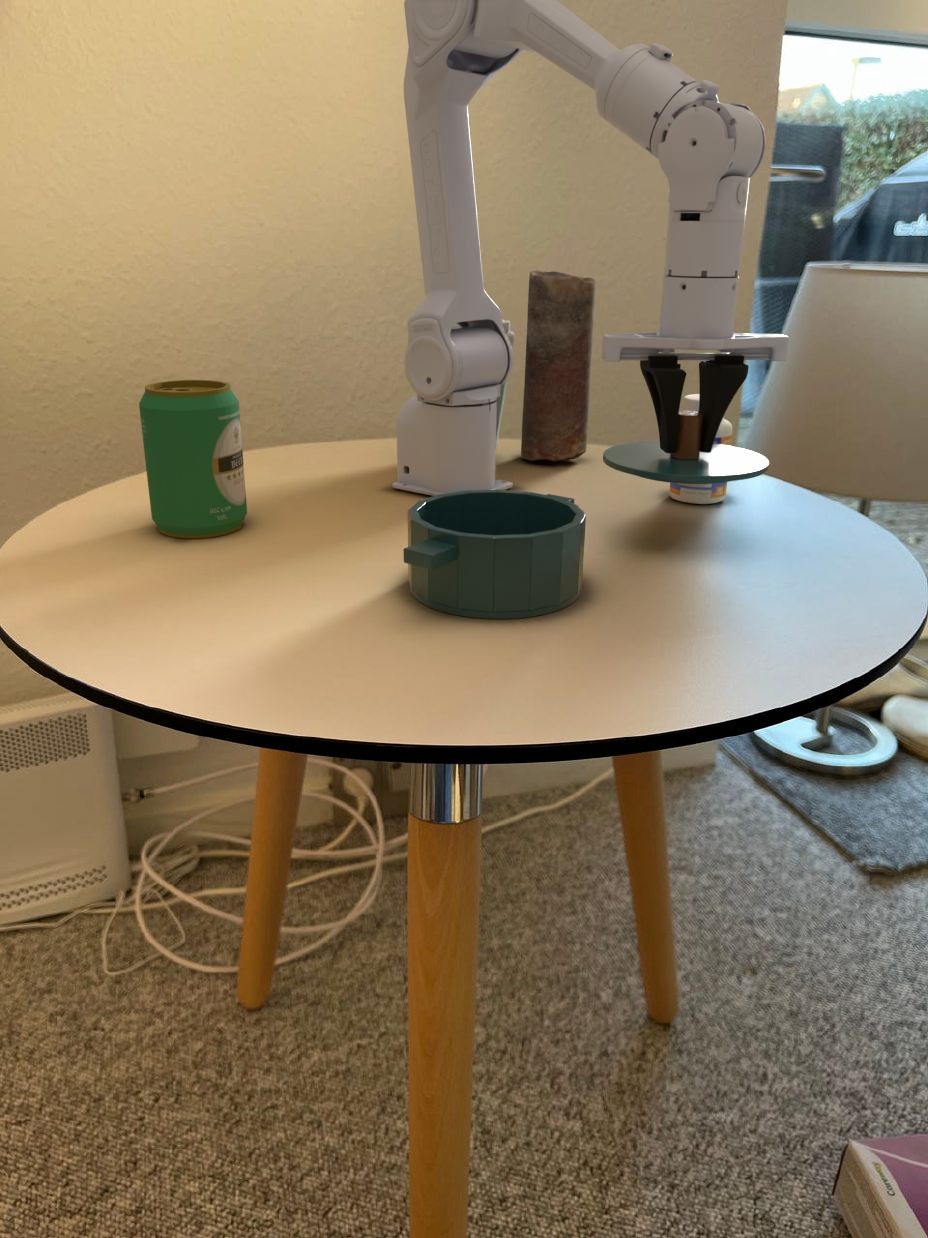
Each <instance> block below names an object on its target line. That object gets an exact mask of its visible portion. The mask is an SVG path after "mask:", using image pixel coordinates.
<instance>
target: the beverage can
mask: <svg viewBox="0 0 928 1238" xmlns="http://www.w3.org/2000/svg"><path fill="white" fill-rule="evenodd" d="M138 408H139V416H140V425H141V426H140V427H141V434H142V443H143V451H144V452H143V453H144V462H145V469H146V478H147V479H146V480H147V487H148V494H149V497H148V498H149V505H150V514H151V520H152V521H153V522H154V524H155V525H156V526H157V527H158V531H159V532H160V533H161V534H162V535H164V536H167V537H173V538H177V539H204V538H205V539H206V538H214V537H221V536H224V535H229V534H231V533H235V532H236V531H238V530H240V529H241V528H242V527H243V524H244V523H243V522H244V520H245V518H246V516H247V514H248V506H247V492H246V480H245V478H246V477H245V466H244V465H245V464H244V451H243V440H242V426H241V413H240V411H241V410H240V401H239V399H238V397H237V396H236V394H235V393H234V392H233V390H232V389H231V384H230V383H229V382H226V381H222V380H214V379H213V380H212V379H179V380H166V381H158V382H153V383H149V384H147V385H145V386H144V392H143V394H142V397H141V399H140V401H139V402H138Z"/></svg>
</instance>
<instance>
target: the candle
mask: <svg viewBox="0 0 928 1238" xmlns="http://www.w3.org/2000/svg"><path fill="white" fill-rule="evenodd" d="M596 286H597V285H596V280H595V279H594V278H593V277H583V276H578V275H571V274H569V273H565V272H561V271H554V270H553V271H542V270H537V269H536V270H533V271H529V279H528V295H527V321H526V340H525V365H524V382H523V383H524V386H523V399H522V400H523V403H522V418H521V419H522V420H521V422H522V423H521V442H520V444H521V445H520V458H521V459H522V460H525V461H531V462H534V461H538V460H540V461H549V462H558V461H569V460H575V459H578V458H580V457H581V456H582V455H584V454H585V453H586V452H587V448H588V447H587V445H588V429H589V412H590V391H591V371H592V356H593V355H592V354H593V340H594V339H593V338H594V319H595V318H594V317H595V306H596V305H595V302H596Z"/></svg>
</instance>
